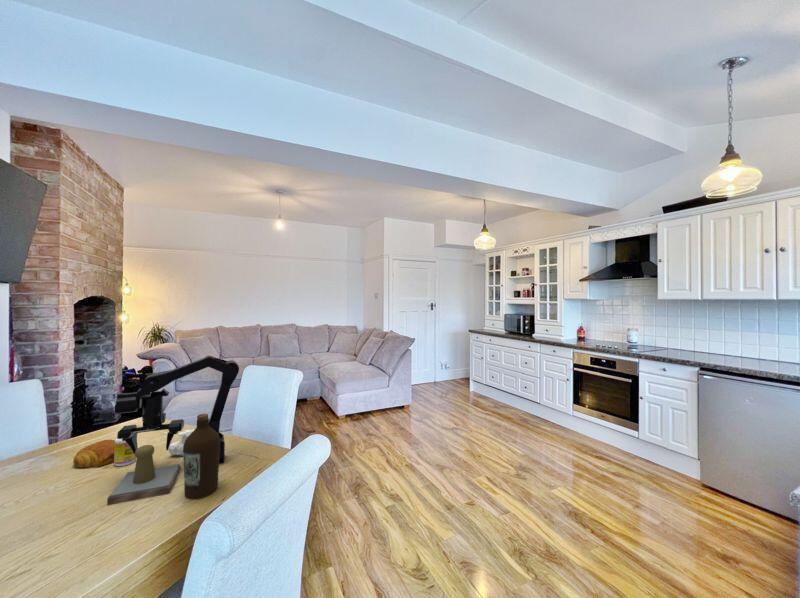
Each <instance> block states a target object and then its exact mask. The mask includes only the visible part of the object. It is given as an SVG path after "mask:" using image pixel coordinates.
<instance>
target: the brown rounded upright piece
mask: <svg viewBox="0 0 800 598" xmlns="http://www.w3.org/2000/svg"><path fill="white" fill-rule="evenodd" d="M154 453H155V447H154V445H152V444H144V445H141V446H139V447H138V449H137V450H136V451H135V457H136V460H135V468H134V471H135V472H134V471H133V472H134V478H133V483H134V484H142V483H146V482H149V481H151V480H153V479H154V478H155V470H154V468H155V465H154V458H153V454H154Z"/></svg>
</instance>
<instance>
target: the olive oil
mask: <svg viewBox="0 0 800 598" xmlns="http://www.w3.org/2000/svg"><path fill="white" fill-rule="evenodd" d="M196 417H197V419H196V427H195V428H194V429H195V430H194V431H193V432H192V433H191V434H190V435H189V436H188V437H187V439H186V440H185V443H184V446H183V456H182V457H183V482H184V484H183V485H184V486H183V487H184V497H185V498H186V499H189V500H195V499H202V498H206V497H208V496H210V495H212V494H213V493H215V492H216V491H217V489H218V486H219V471H220V470H219V469H220V468H219V467H220V464H219V455H220V437H219V434H218V433H217V432H216V431H215V430H213V429H212V428H211V427H210V426H209V425H208V421H209V418H210V417H209V414H208V413H201V414H198V415H197V416H196ZM208 417H209V418H208Z"/></svg>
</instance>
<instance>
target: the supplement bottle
mask: <svg viewBox="0 0 800 598" xmlns="http://www.w3.org/2000/svg"><path fill="white" fill-rule="evenodd" d="M114 440H115V449H114V462H113V464H114V466H116V467H124V466H128V465H131V464H133V463H136V461H137V458H136V457H135V454H134V452H133V451H132V449H131V447H130V446H129V445H128V443H127V442H126V441H122V439H117V437H116V438H115V439H114Z"/></svg>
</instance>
